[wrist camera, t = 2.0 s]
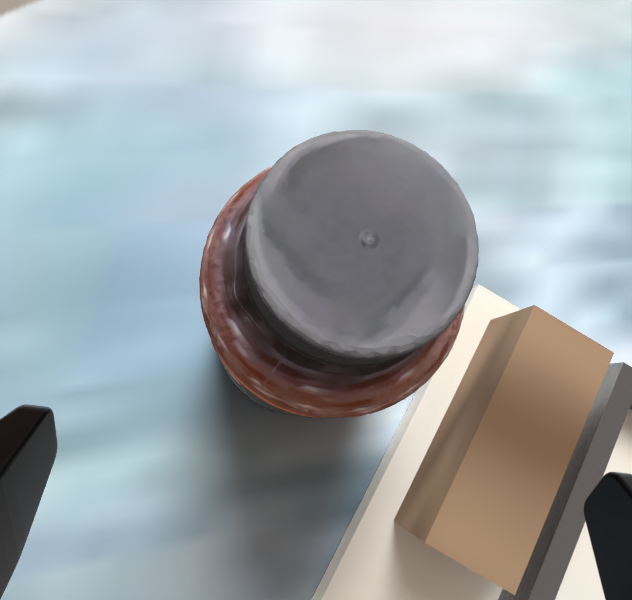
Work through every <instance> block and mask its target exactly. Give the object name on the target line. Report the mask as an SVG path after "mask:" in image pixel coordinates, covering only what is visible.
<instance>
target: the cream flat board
mask: <svg viewBox="0 0 632 600" xmlns="http://www.w3.org/2000/svg"><path fill="white" fill-rule="evenodd" d="M519 310H521V309H519V308H518V307H516V306H514V305H513V304H511V303H509V302H508V301H506V300H504V299H503V298H501V297H499V296H498V295H496V294H494V293H493V292H491V291H489V290H488V289H486V288H484V287H483V286H481V285H479V284H478V285H477V286H475V287H473V288H472V290H471V292H470V294H469V297H468V299H467V301H466V303H465V309H464V316H463V320H462V322H461V326H460V330H459V333H458V335H457V338H456V340H455V342H454V345H453V347H452V349H451V351H450V353H449V355H448V357H447V358H446V359H445V360H444V362H443V363H442V365H441V366H440V367H439V369H438V370H437V371H436V372H435V373H434V375H433V376H432V377H431V378H430V379H429V380H428V381H427V382H426V383H425V384H424V385H423V386H421V387H420V388H419V389H418V390H417V391H416V393H415V395H414V397H413V399H412V401H411V403H410V405H409V407H408V409H407V411H406V413H405V415H404V417H403V419H402V421H401V423H400V425H399V427H398V429H397V431H396V433H395V435H394V437H393V439H392V441H391V443H390V445H389V447H388V449H387V451H386V453H385V455H384V457H383V459H382V461H381V463H380V465H379V467H378V469H377V471H376V473H375V475H374V477H373V479H372V481H371V483H370V485H369V487H368V488H367V490H366V492H365V494H364V496H363V498H362V500H361V502H360V504H359V506H358V508H357V510H356V512H355V514H354V516H353V518H352V520H351V522H350V524H349V526H348V528H347V530H346V532H345V534H344V536H343V538H342V540H341V542H340V544H339V546H338V548H337V550H336V552H335V554H334V556H333V558H332V560H331V562H330V564H329V566H328V568H327V570H326V572H325V574H324V576H323V578H322V580H321V582H320V584H319V586H318V588H317V590H316V592H315V594H314V596H313V598H312V600H498V598H499V596H500V594H501V591H502V589H503V588H501V587H499V586H498V585H496V584H494V583H493V582H491V581H489V580H487V579H486V578H484V577H482V576H481V575H479V574H477V573H476V572H474V571H472V570H470V569H469V568H467V567H465V566H464V565H462V564H460V563H458V562H457V561H455V560H453V559H452V558H450V557H448V556H446V555H445V554H443V553H441V552H440V551H438V550H436V549H434V548H433V547H431V546H429V545H428V544H426V543H424V542H423V541H422V540H420V539H419V538H418V537H416V536H415V535H414V534H412V533H411V532H409V531H408V530H407V529H405V528H404V527H403V526H401V525H400V524H399V523H397V522H396V521H395V520H394V519H395V516H396V514H397V512H398V510H399V508H400V506H401V504H402V502H403V500H404V498H405V496H406V494H407V492H408V490H409V488H410V485H411V483H412V481H413V479H414V477H415V475H416V473H417V471H418V469H419V467H420V465H421V463H422V461H423V459H424V456H425V454H426V452H427V450H428V448H429V446H430V444H431V442H432V440H433V438H434V436H435V434H436V432H437V430H438V428H439V425H440V423H441V421H442V419H443V417H444V415H445V413H446V411H447V409H448V407H449V405H450V403H451V401H452V399H453V397H454V394H455V392H456V390H457V388H458V386H459V384H460V382H461V380H462V378H463V376H464V374H465V372H466V370H467V368H468V365H469V363H470V361H471V359H472V357H473V355H474V353H475V351H476V349H477V347H478V345H479V343H480V341H481V339H482V337H483V334H484V332H485V330H486V328H487V326H488V324H489V322H490V320H492V319H495V318H498V317H501V316H504V315H507V314H510V313H513V312H516V311H519ZM609 364H611V363H609ZM609 472H620V473H628V474H632V410H630V409H629V410H628V413H627V416H626V418H625V421H624V423H623V426H622V429H621V431H620V434H619V436H618V439H617V441H616V444H615V447H614V449H613V452H612V454H611V457H610V459H609V462H608V465H607V467H606V470H605V472H604V475H605V474H606V473H609ZM604 475H603V476H604ZM555 600H605V596H604V592H603V589H602V585H601V581H600V577H599V573H598V569H597V565H596V561H595V557H594V553H593V549H592V545H591V541H590V537H589V533H588V529H587V525H586V521H585V524H584V526H583V529H582V532H581V534H580V537H579V539H578V542H577V544H576V547H575V550H574V552H573V555H572V557H571V560H570V562H569V565H568V568H567V570H566V573H565V575H564V578H563V580H562V583H561V586H560V588H559V591H558V593H557V596H556V598H555Z"/></svg>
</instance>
